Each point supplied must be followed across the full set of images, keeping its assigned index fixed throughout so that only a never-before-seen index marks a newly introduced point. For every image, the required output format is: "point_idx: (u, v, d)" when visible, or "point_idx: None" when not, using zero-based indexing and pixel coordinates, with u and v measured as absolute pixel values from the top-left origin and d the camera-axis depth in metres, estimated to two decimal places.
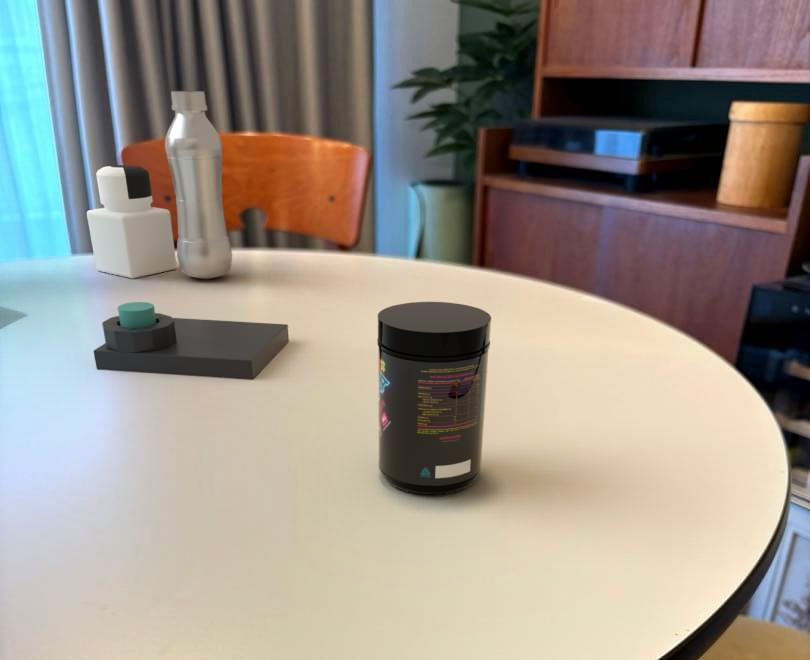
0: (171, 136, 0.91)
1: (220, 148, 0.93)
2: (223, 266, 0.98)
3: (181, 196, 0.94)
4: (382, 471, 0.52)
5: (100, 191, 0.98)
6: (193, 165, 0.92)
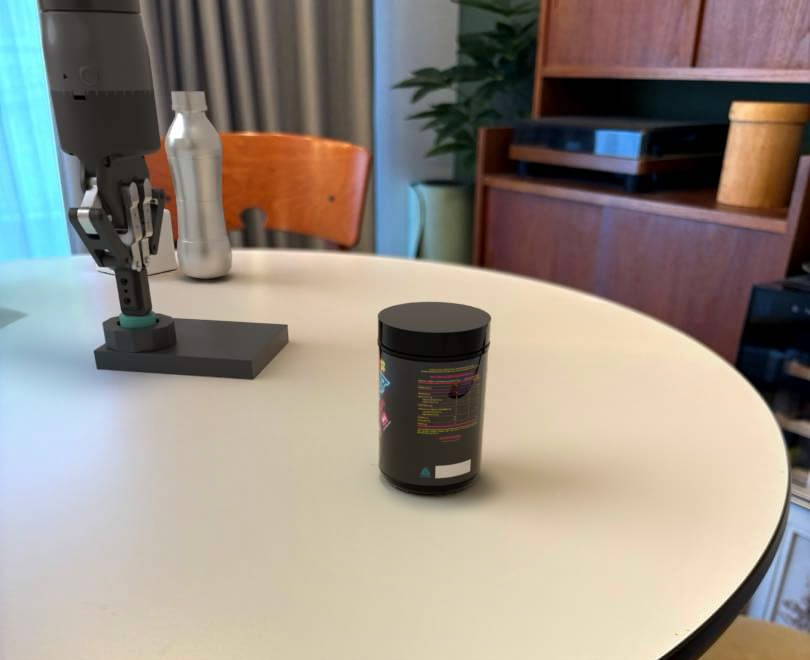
0: (171, 136, 0.91)
1: (220, 148, 0.93)
2: (223, 266, 0.98)
3: (181, 196, 0.94)
4: (382, 471, 0.52)
5: None
6: (193, 165, 0.92)
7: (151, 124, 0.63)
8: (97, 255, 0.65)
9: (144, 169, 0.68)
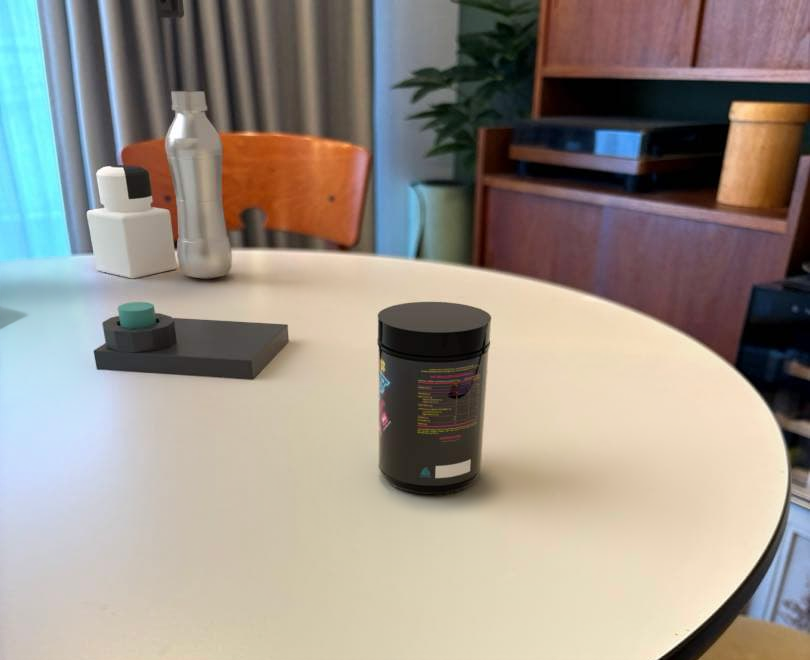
0: (171, 136, 0.91)
1: (220, 148, 0.93)
2: (223, 266, 0.98)
3: (181, 196, 0.94)
4: (382, 471, 0.52)
5: (100, 191, 0.98)
6: (193, 165, 0.92)
7: None
8: None
9: None
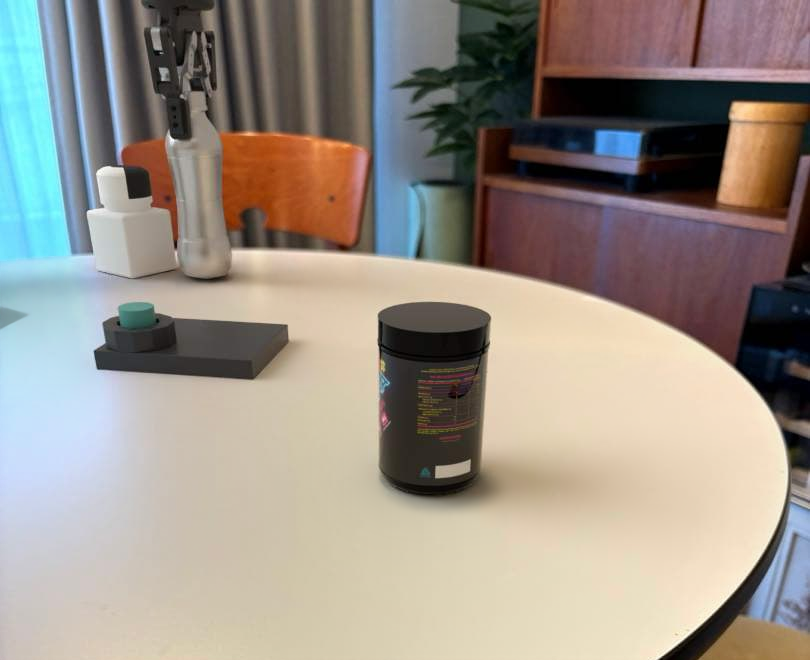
0: None
1: (220, 148, 0.93)
2: (223, 266, 0.98)
3: (181, 196, 0.94)
4: (382, 471, 0.52)
5: (100, 191, 0.98)
6: (194, 164, 0.92)
7: None
8: (156, 76, 0.85)
9: (200, 27, 0.90)
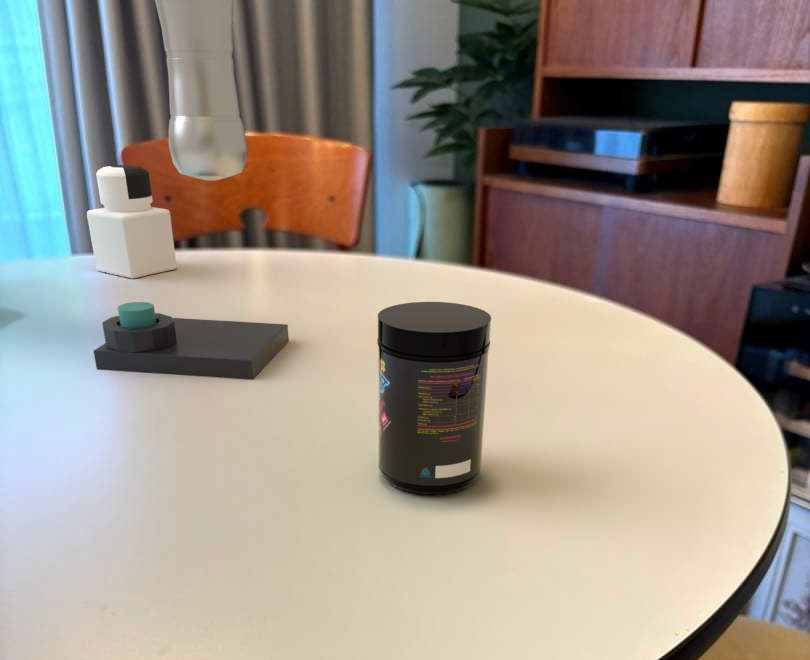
0: None
1: None
2: (235, 160, 0.69)
3: (174, 52, 0.65)
4: (382, 471, 0.52)
5: (100, 191, 0.98)
6: None
7: None
8: None
9: None
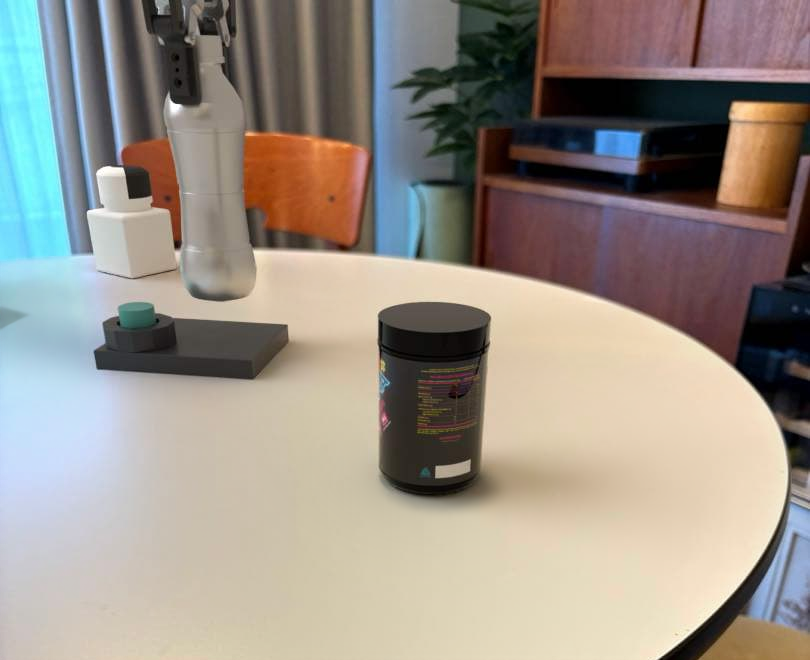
0: None
1: (243, 118, 0.65)
2: (245, 285, 0.71)
3: (186, 187, 0.67)
4: (382, 471, 0.52)
5: (100, 191, 0.98)
6: (205, 141, 0.64)
7: None
8: (149, 7, 0.57)
9: None
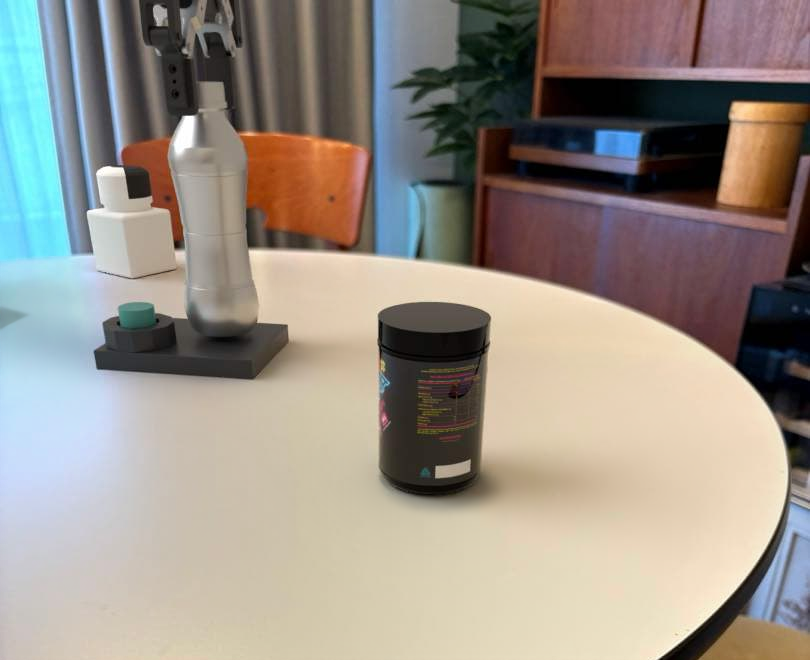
0: (177, 144, 0.65)
1: (245, 161, 0.67)
2: (248, 321, 0.72)
3: (190, 228, 0.68)
4: (382, 471, 0.52)
5: (100, 191, 0.98)
6: (208, 185, 0.66)
7: None
8: (147, 17, 0.57)
9: None
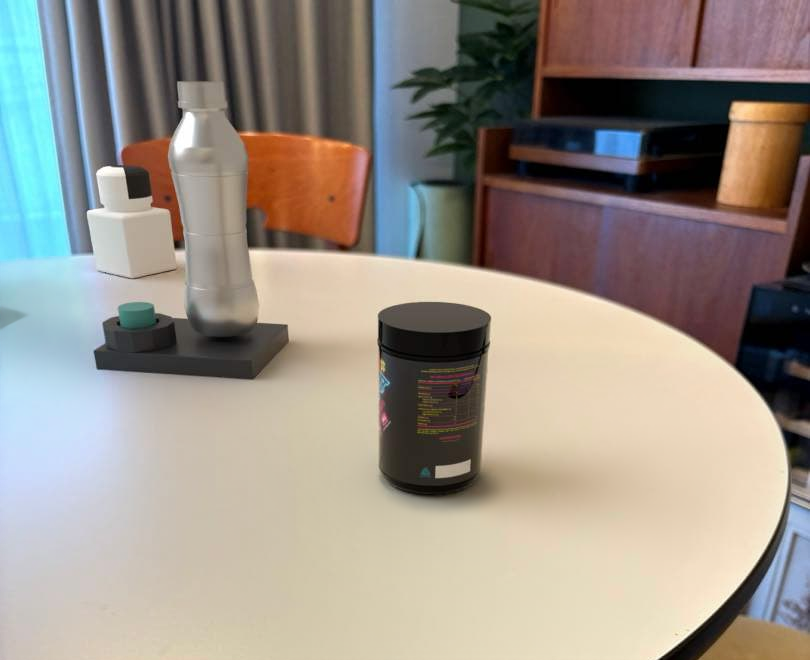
0: (177, 144, 0.65)
1: (245, 161, 0.67)
2: (248, 321, 0.72)
3: (190, 228, 0.68)
4: (382, 471, 0.52)
5: (100, 191, 0.98)
6: (208, 184, 0.66)
7: None
8: None
9: None
